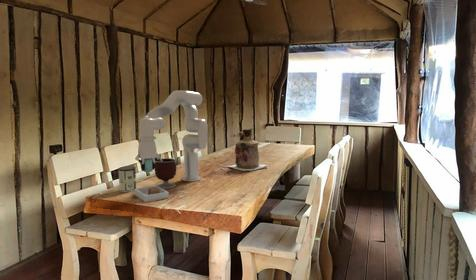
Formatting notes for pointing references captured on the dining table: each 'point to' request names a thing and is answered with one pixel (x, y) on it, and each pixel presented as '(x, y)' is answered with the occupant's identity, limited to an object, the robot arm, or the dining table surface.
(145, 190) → the grey tote
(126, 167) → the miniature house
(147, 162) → the teal rounded capsule
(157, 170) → the mate gourd
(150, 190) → the walnut cube
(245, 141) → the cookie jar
